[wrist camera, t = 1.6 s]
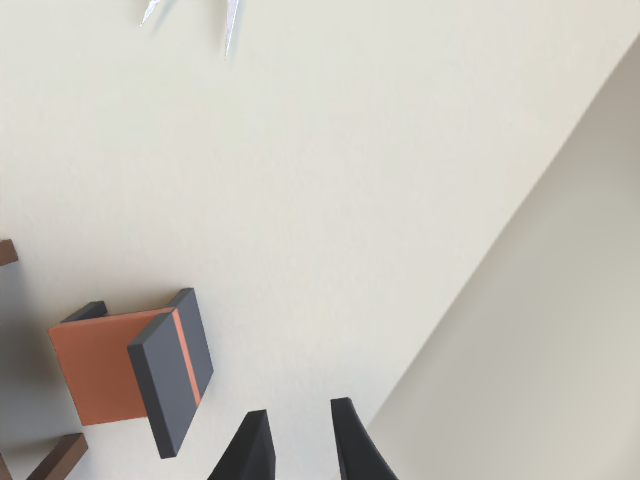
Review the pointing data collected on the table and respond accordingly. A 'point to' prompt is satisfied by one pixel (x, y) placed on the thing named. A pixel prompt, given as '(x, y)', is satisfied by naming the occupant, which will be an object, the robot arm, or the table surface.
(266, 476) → the robot arm
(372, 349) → the table surface
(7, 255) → the desk
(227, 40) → the scissors
